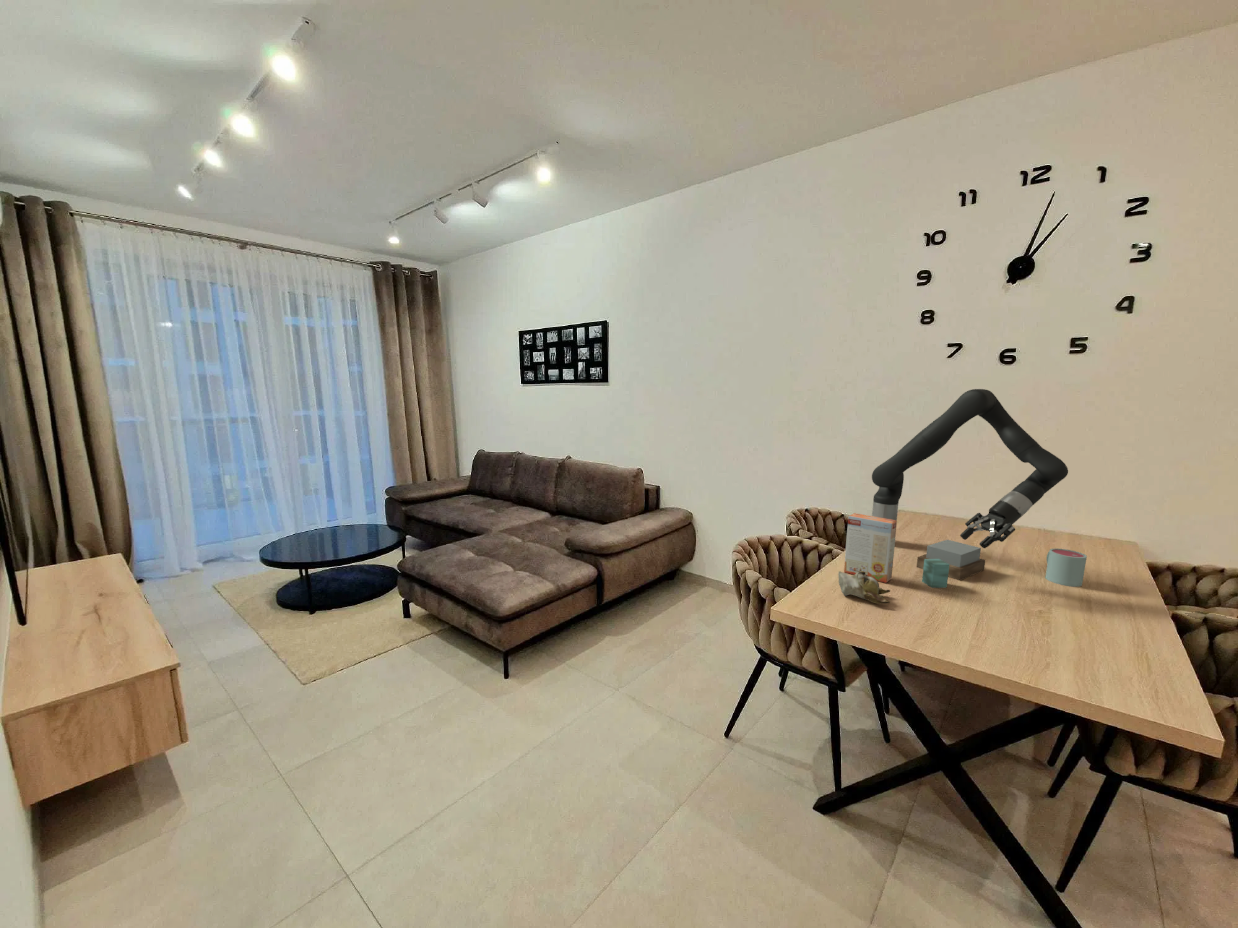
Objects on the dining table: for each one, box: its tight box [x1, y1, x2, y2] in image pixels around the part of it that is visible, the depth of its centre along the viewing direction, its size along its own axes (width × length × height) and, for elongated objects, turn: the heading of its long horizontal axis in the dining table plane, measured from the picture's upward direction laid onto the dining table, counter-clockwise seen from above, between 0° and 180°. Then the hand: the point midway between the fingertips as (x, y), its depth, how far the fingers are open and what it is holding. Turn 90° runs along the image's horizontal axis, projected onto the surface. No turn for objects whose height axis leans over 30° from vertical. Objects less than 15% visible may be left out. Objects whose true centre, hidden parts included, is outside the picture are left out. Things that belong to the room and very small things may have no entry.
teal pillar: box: [921, 559, 950, 589], centre depth 161 cm, size 5×5×8 cm
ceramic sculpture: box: [837, 571, 891, 605], centre depth 151 cm, size 11×9×15 cm
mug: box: [1045, 548, 1088, 588], centre depth 166 cm, size 14×9×10 cm
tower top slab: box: [925, 539, 982, 567], centre depth 174 cm, size 11×14×4 cm
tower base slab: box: [916, 553, 986, 581], centre depth 175 cm, size 14×18×4 cm
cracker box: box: [843, 512, 898, 584], centre depth 167 cm, size 14×6×21 cm, turn 45°
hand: (971, 542), depth 160 cm, fingers open, 8 cm apart
